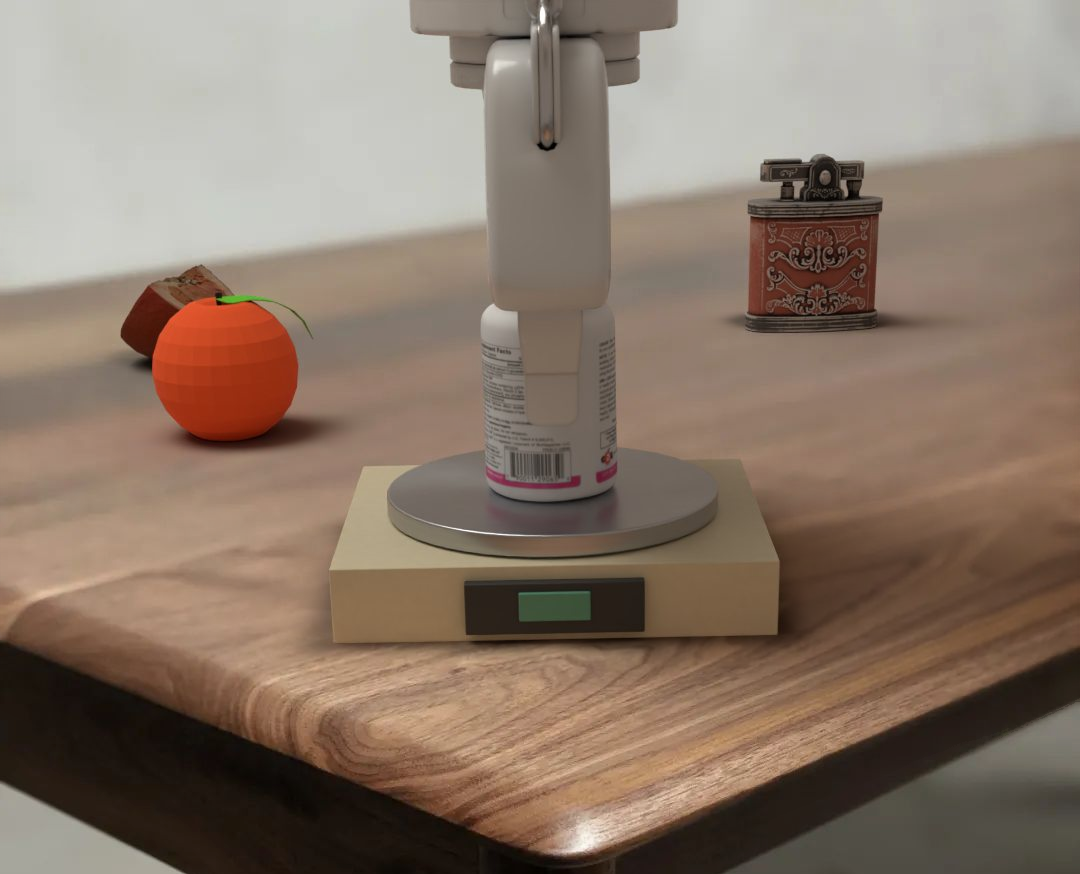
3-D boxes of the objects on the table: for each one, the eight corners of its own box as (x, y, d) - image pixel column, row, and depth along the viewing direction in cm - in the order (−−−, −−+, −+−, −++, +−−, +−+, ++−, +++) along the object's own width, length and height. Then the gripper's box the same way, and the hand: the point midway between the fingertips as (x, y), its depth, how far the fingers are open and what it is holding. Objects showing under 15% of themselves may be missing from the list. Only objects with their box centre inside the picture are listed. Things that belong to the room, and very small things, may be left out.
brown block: (162, 343, 112) (153, 259, 110) (267, 346, 110) (260, 261, 108) (103, 373, 104) (93, 284, 102) (216, 376, 103) (207, 286, 101)
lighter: (869, 318, 114) (877, 150, 110) (882, 329, 111) (891, 156, 107) (740, 322, 114) (744, 154, 110) (749, 333, 111) (753, 160, 107)
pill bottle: (564, 461, 70) (560, 234, 67) (643, 487, 66) (644, 249, 63) (459, 483, 67) (450, 248, 64) (536, 512, 64) (531, 264, 60)
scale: (738, 530, 74) (740, 458, 73) (779, 650, 62) (781, 565, 61) (367, 538, 74) (362, 465, 73) (332, 659, 62) (326, 574, 61)
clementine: (293, 414, 94) (283, 273, 91) (346, 443, 88) (336, 293, 86) (141, 435, 91) (125, 289, 88) (185, 467, 85) (170, 311, 82)
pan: (703, 460, 73) (704, 440, 72) (733, 554, 62) (733, 531, 61) (399, 466, 73) (398, 446, 72) (374, 561, 62) (373, 539, 61)
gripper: (659, -21, 50) (657, 470, 56) (626, -33, 69) (627, 335, 75) (428, -16, 50) (449, 474, 56) (458, -29, 69) (472, 339, 75)
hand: (551, 394), depth 65 cm, fingers open, 7 cm apart
